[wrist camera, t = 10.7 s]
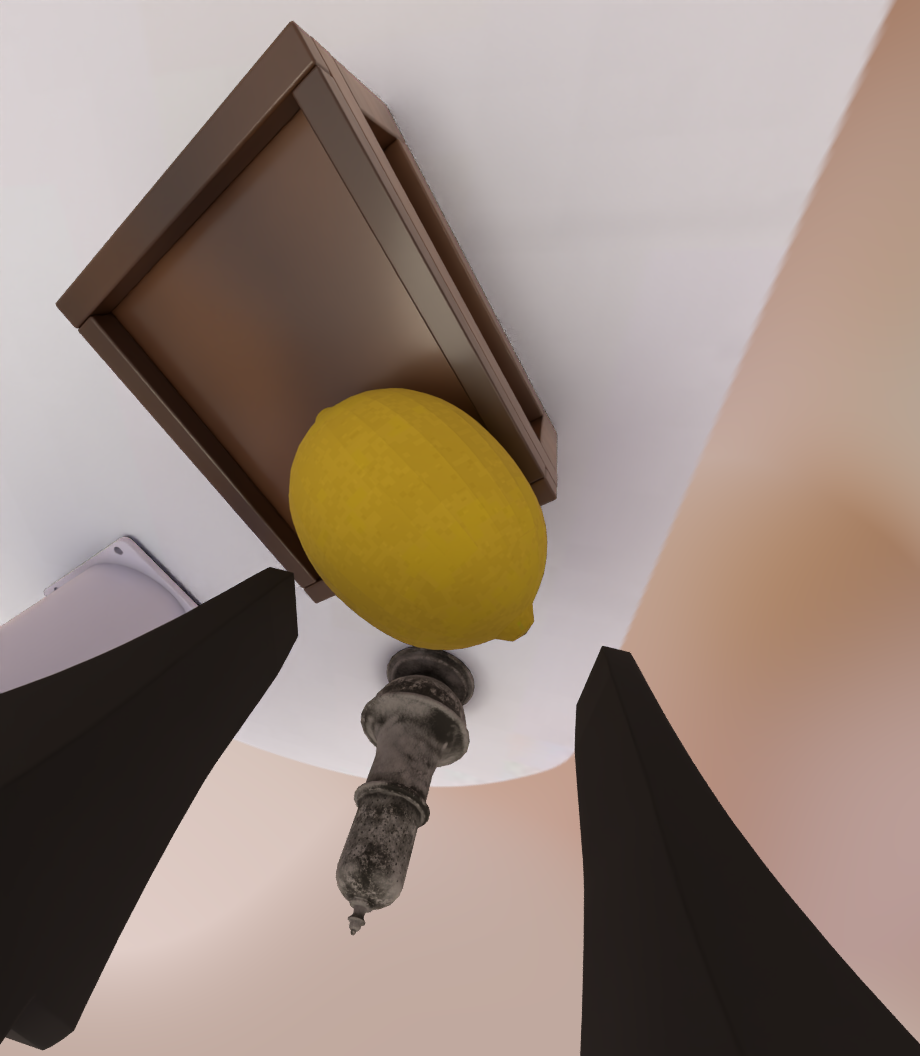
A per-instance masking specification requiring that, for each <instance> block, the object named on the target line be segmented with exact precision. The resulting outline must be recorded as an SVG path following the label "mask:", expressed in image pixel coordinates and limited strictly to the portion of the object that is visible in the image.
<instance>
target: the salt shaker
mask: <svg viewBox="0 0 920 1056" xmlns="http://www.w3.org/2000/svg"><path fill="white" fill-rule="evenodd" d="M387 677H388V681H389V684H387V685H386V686H385V687H384V688H383V689H382V690H381V691H380V692H378V693H377V695H376V697H374V698H373V699H372V700H371V701H369V702H368V703H367V704H366V706H365V707H364V709H363V711H362V713H361V724H362V727H363V731H364V733H365V734H366V736H367V737H368V739H369V740H370V742H371V743H372V744H373V745H374V746H376V747H377V748H376V756H375V759H374V762H373V764H372V767H371V770H370V772H369V775H368V778H367V781H366V783H364V784H362V785H361V786H359V787H358V788H357V790H356V791H355V795H354V800H355V803H356V806H357V807H358V810H357V813H356V816H355V818H354V821H353V824H352V827H351V829H350V832H349V835H348V838H347V840H346V843H345V846H344V849H343V852H342V854H341V857H340V859H339V862H338V866H337V871H336V880H337V884H338V888H339V890H340V891H341V893H342V894H343V896H344V897H345V898H346V899H347V900H348V901H349V902H350V905H351V907H353V908H354V913H353V914H352V915H351V916H350V917H348V920H349V922H350V925H349V928H350V929H351V935H354V934H355V933H356V932H357V931H359V930H360V928H361V926H363V925H365V921H364V915H365V913H366V912H371V911H372V910H376V909H381V908H383V907H386V906H389V905H391V904H392V903H393V902H394V901H395V900H396V899H397V898H398V897H399V895H400V893H401V891H402V889H403V885H404V881H405V877H406V873H407V869H408V865H409V861H410V857H411V853H412V849H413V845H414V840H415V836H416V833H417V829H418V828H419V827H421V826H423V825H424V824H425V823H426V822H427V821H428V819H429V815H430V811H429V807H428V805H427V804H426V799H427V795H428V791H429V787H430V783H431V779H432V775H433V773H434V771H435V769H436V767H441V766H445V765H449V764H452V763H454V762H455V761H457V760H459V759H461V758H462V756H463V755H464V754H465V753H466V752H467V749H468V745H469V742H470V741H469V733H468V730H467V728H466V720H465V715H464V710H463V705H464V704H466V703H467V702H468V701H469V700H470V698H471V697H472V694H473V691H474V680H473V677H472V675H471V673H470V671H469V669H468V668H467V667H466V666H465V665H464V664H463V662H461V661H460V660H458V659H457V658H456V657H454V656H453V655H451V654H449V653H447V652H445V651H442V650H432V649H426V648H419V647H411V648H406V649H404V650H402V651H399V652H398V653H397V654H395V655H394V656H393V657H392V658H391V660H390V662H389V664H388V666H387Z"/></svg>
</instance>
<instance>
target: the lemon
mask: <svg viewBox="0 0 920 1056" xmlns="http://www.w3.org/2000/svg"><path fill="white" fill-rule="evenodd" d="M289 505H290V512H291V516H292V520H293V523H294V526H295V529H296V532H297V534H298V537H299V540H300V542H301V545H302V547H303V549H304V551H305V553H306V555H307V557H308V559H309V561H310V562H311V564H312V565H313V567H314V568H315V570H316V572H317V573H318V574H319V576H320V577H321V578H322V580H323V581H324V582H325V584H326V585H327V586H328V587H329V588H330V589H331V590H332V591H333V592H334V594H335V595H336V596H337V597H338V598H339V599H341V600H342V601H343V602H344V603H345V604H346V605H347V606H348V607H349V608H350V609H352V610H353V611H354V612H355V613H356V614H358V615H359V616H360V617H362V618H363V619H364V620H366V621H367V622H368V623H370V624H371V625H373V626H374V627H376V628H377V629H379V630H380V631H382V632H383V633H385V634H387V635H389V636H391V637H393V638H395V639H397V640H399V641H401V642H403V643H406V644H409V645H412V646H416V647H419V648H426V649H432V650H454V649H463V648H468V647H471V646H475V645H479V644H482V643H485V642H487V641H490V640H493V639H500V640H506V641H512V642H513V641H515V640H516V639H518V638H520V637H521V636H523V635H525V634H526V633H527V631H528V630H529V628H530V627H531V625H532V624H533V622H534V615H533V605H532V603H533V601H534V599H535V596H536V594H537V592H538V589H539V586H540V583H541V580H542V577H543V574H544V569H545V564H546V557H547V534H546V525H545V521H544V517H543V513H542V510H541V507H540V505H539V502H538V500H537V498H536V496H535V494H534V492H533V490H532V488H531V486H530V484H529V483H528V481H527V480H526V478H525V476H524V475H523V473H522V472H521V470H520V469H519V467H518V466H517V464H516V463H515V462H514V460H513V459H512V458H511V456H510V455H509V454H508V453H507V451H506V450H505V449H504V448H503V447H502V446H501V445H500V444H499V442H498V441H497V440H496V439H495V438H494V437H493V436H492V435H491V434H490V433H489V432H488V431H487V430H486V429H485V428H484V427H482V426H481V425H480V424H479V423H478V422H477V421H476V420H474V419H473V418H472V417H470V416H469V415H468V414H466V413H465V412H464V411H462V410H461V409H459V408H457V407H456V406H454V405H453V404H451V403H449V402H447V401H445V400H443V399H441V398H438V397H435V396H432V395H429V394H426V393H422V392H418V391H414V390H409V389H403V388H386V389H376V390H370V391H365V392H362V393H360V394H357V395H354V396H351V397H349V398H347V399H345V400H344V401H342V402H340V403H338V404H336V405H335V406H333V407H328V408H325V409H323V410H322V411H321V412H320V413H319V414H318V415H317V417H316V420H315V423H314V424H313V425H312V427H311V428H310V429H309V431H308V432H307V434H306V435H305V437H304V438H303V440H302V442H301V443H300V445H299V447H298V450H297V452H296V455H295V458H294V461H293V464H292V467H291V473H290V485H289Z"/></svg>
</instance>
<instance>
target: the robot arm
mask: <svg viewBox="0 0 920 1056" xmlns="http://www.w3.org/2000/svg"><path fill="white" fill-rule="evenodd" d="M44 595H45V596H46V597H44V598H43V599H41V600H40V601H38V602H37V603H35V604H34V605H32V606H31V607H29V608H28V609H26V610H25V611H23V612H22V613H20V614H19V615H17V616H15V617H14V618H12V619H11V620H9V621H8V622H6V623H5V624H3V625H2V626H0V1044H1V1042H2V1041H3V1040H4V1038H5V1037H6V1038H9V1039H12V1040H15V1041H18V1042H21V1043H23V1044H26V1045H29V1046H32V1047H35V1048H38V1049H41V1050H45V1049H47V1048H49V1047H51V1046H53V1045H55V1044H56V1043H58V1042H59V1041H61V1040H62V1039H64V1038H65V1037H66V1036H68V1035H69V1034H70V1033H72V1032H73V1031H74V1029H75V1027H76V1025H77V1023H78V1021H79V1019H80V1017H81V1014H82V1012H83V1010H84V1008H85V1006H86V1004H87V1002H88V1000H89V998H90V996H91V994H92V992H93V989H94V988H95V986H96V983H97V981H98V979H99V977H100V975H101V973H102V971H103V969H104V967H105V965H106V963H107V961H108V959H109V957H110V955H111V953H112V951H113V949H114V946H115V944H116V943H117V940H118V938H119V936H120V935H121V932H122V931H123V929H124V927H125V925H126V923H127V921H128V919H129V917H130V915H131V913H132V911H133V909H134V907H135V905H136V904H137V902H138V900H139V898H140V896H141V894H142V892H143V890H144V888H145V886H146V884H147V883H148V881H149V879H150V877H151V875H152V873H153V871H154V869H155V868H156V866H157V864H158V862H159V860H160V858H161V857H162V855H163V853H164V851H165V849H166V848H167V846H168V844H169V842H170V840H171V838H172V837H173V834H174V833H175V831H176V829H177V828H178V826H179V824H180V822H181V820H182V819H183V817H184V815H185V814H186V812H187V810H188V808H189V807H190V805H191V803H192V801H193V800H194V798H195V796H196V794H197V793H198V791H199V789H200V788H201V786H202V784H203V782H204V781H205V779H206V778H207V776H208V775H209V773H210V771H211V770H212V768H213V767H214V765H215V764H216V762H217V761H218V759H219V758H220V756H221V755H222V753H223V752H224V751H225V749H226V748H227V746H228V745H229V744H230V742H231V741H232V739H233V738H234V736H235V735H236V734H237V732H238V731H239V729H240V728H241V727H242V725H243V724H244V722H245V721H246V719H247V718H248V717H249V715H250V714H251V712H252V711H253V709H254V708H255V707H256V705H257V704H258V702H259V701H260V699H261V698H262V697H263V695H264V694H265V692H266V691H267V689H268V688H269V686H270V685H271V684H272V682H273V681H274V679H275V678H276V676H277V675H278V673H279V671H280V669H281V667H282V666H283V664H284V662H285V660H286V658H287V657H288V655H289V653H290V651H291V649H292V647H293V645H294V643H295V641H296V639H297V637H298V627H297V612H296V597H295V582H294V573H292V572H288V571H284V570H280V569H275V568H271V567H269V568H267V569H265V570H263V571H261V572H259V573H257V574H255V575H254V576H252V577H250V578H248V579H246V580H245V581H243V582H241V583H239V584H237V585H236V586H234V587H232V588H230V589H229V590H227V591H225V592H223V593H221V594H220V595H218V596H216V597H214V598H212V599H211V600H209V601H207V602H205V603H203V604H201V605H199V606H198V605H197V604H196V603H195V602H194V601H193V600H192V599H191V598H190V597H189V596H188V595H187V594H186V593H185V592H184V591H183V590H182V589H181V588H180V587H179V586H178V585H177V584H176V583H175V582H174V581H173V580H172V579H171V578H170V577H169V576H168V575H167V574H166V573H165V572H164V571H163V570H162V569H161V568H160V567H159V566H158V565H157V564H156V563H155V562H154V561H153V560H152V559H151V558H150V557H149V556H148V555H147V554H146V553H145V552H144V551H143V550H142V549H141V548H140V547H139V546H138V545H137V544H136V543H135V542H134V541H133V540H131V539H130V538H128V537H121V538H120V539H118V540H116V541H115V542H113V543H112V544H111V545H109V546H108V547H106V548H105V549H103V550H102V551H100V552H99V553H97V554H96V555H94V556H93V557H92V558H90V559H89V560H87V561H86V562H84V563H83V564H81V565H80V566H78V567H77V568H76V569H74V570H73V571H71V572H70V573H68V574H67V575H65V576H64V577H62V578H61V579H59V580H58V581H57V582H55V583H54V584H52V585H51V586H49V587H48V588H46V589H45V590H44ZM575 762H576V776H577V790H578V802H579V815H580V829H581V842H582V854H583V871H584V951H583V995H582V1025H581V1051H580V1056H920V1044H919V1043H918V1041H917V1040H916V1039H915V1038H914V1037H913V1036H912V1035H911V1034H910V1033H909V1032H908V1031H907V1030H906V1029H905V1028H904V1026H903V1025H902V1024H901V1023H900V1022H899V1021H898V1020H897V1019H896V1018H895V1016H894V1015H892V1013H891V1012H890V1011H889V1010H888V1009H887V1008H886V1007H885V1005H884V1004H883V1003H882V1002H881V1001H880V1000H879V999H878V998H877V997H876V996H875V995H874V993H873V992H872V991H871V990H870V989H869V988H868V987H867V986H866V985H865V983H864V982H862V980H861V979H860V978H859V977H858V976H857V975H856V973H855V972H854V971H853V970H852V969H851V968H850V967H849V965H848V964H847V963H846V962H845V961H844V960H843V959H842V957H840V955H839V954H838V953H837V952H836V951H835V949H834V948H833V947H832V946H831V945H830V944H829V942H828V941H827V940H826V939H825V938H824V936H823V935H822V934H821V933H820V932H819V930H818V929H817V928H816V927H815V926H814V924H813V923H812V922H811V921H810V920H809V918H808V917H807V916H806V915H805V914H804V912H803V911H802V910H801V909H800V908H799V906H798V905H797V904H796V903H795V902H794V900H793V899H792V898H791V897H790V896H789V894H788V893H787V892H786V891H785V889H784V888H783V887H782V886H781V885H780V883H779V882H778V881H777V879H776V878H775V877H774V876H773V874H772V873H771V872H770V871H769V869H768V868H767V867H766V865H765V864H764V863H763V862H762V860H761V859H760V857H759V856H758V855H757V853H756V852H755V851H754V849H753V848H752V847H751V846H750V844H749V843H748V841H747V840H746V839H745V837H744V836H743V835H742V833H741V832H740V831H739V829H738V828H737V827H736V826H735V824H734V823H733V821H732V820H731V818H730V817H729V816H728V814H727V813H726V811H725V810H724V808H723V807H722V805H721V804H720V802H718V800H717V798H716V796H715V795H714V793H713V792H712V790H711V789H710V788H709V786H708V784H707V783H706V781H705V780H704V779H703V777H702V775H701V774H700V772H699V771H698V769H697V767H696V766H695V764H694V763H693V761H692V759H691V758H690V756H689V755H688V753H687V751H686V750H685V748H684V746H683V745H682V743H681V741H680V740H679V738H678V737H677V735H676V733H675V731H674V730H673V728H672V726H671V725H670V723H669V721H668V719H667V718H666V716H665V714H664V713H663V711H662V709H661V707H660V706H659V704H658V702H657V700H656V698H655V696H654V695H653V693H652V691H651V689H650V687H649V686H648V684H647V682H646V680H645V678H644V676H643V675H642V673H641V671H640V669H639V667H638V666H637V664H636V662H635V660H634V658H633V656H632V655H631V653H630V652H626V651H622V650H618V649H614V648H609V647H605V646H602V647H601V650H600V652H599V654H598V657H597V659H596V661H595V664H594V666H593V668H592V671H591V673H590V675H589V677H588V680H587V682H586V684H585V687H584V689H583V691H582V694H581V696H580V698H579V700H578V703H577V705H576V726H575Z"/></svg>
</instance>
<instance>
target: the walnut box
mask: <svg viewBox="0 0 920 1056" xmlns="http://www.w3.org/2000/svg"><path fill="white" fill-rule="evenodd" d="M56 306H57V308H58V309H59V310H60V311H61V312H62V313H63V314H64V316H65V317H66V318H67V319H68V320H69V321H70V322H71V324H72V325H73V326H74V327H75V328H79V329H78V331H79V333H80V334H81V335H82V336H83V337H84V338H85V340H86V341H87V342H88V343H89V344H90V345H91V346H92V348H93V349H94V350H95V351H96V352H97V353H98V354H99V356H100V357H101V358H102V359H103V360H104V361H105V362H106V364H107V365H108V366H109V367H110V368H111V369H112V371H113V372H114V373H115V374H116V375H117V376H118V377H119V379H120V380H121V381H122V382H123V383H124V384H125V385H126V387H127V388H128V389H129V390H130V391H131V392H132V393H133V395H134V396H135V397H136V398H137V399H138V400H139V402H140V403H141V404H142V405H143V406H144V407H145V408H146V410H147V411H148V412H149V413H150V414H151V415H152V416H153V418H154V419H155V420H156V421H157V422H158V423H159V424H160V426H161V427H162V428H163V429H164V430H165V431H166V433H167V434H168V435H169V436H170V437H171V438H172V439H173V441H174V442H175V443H176V444H177V445H178V446H179V447H180V449H181V450H182V451H183V452H184V453H185V454H186V455H187V457H188V458H189V459H190V460H191V461H192V462H193V464H194V465H195V466H196V467H197V468H198V469H199V470H200V472H201V473H202V474H203V475H204V476H205V477H206V478H207V480H208V481H209V482H210V483H211V484H212V485H213V486H214V488H215V489H216V490H217V491H218V492H219V493H220V495H221V496H222V497H223V498H224V499H225V500H226V501H227V503H228V504H229V505H230V506H231V507H232V508H233V509H234V511H235V512H236V513H237V514H238V515H239V516H240V517H241V519H242V520H243V521H244V522H245V523H246V524H247V525H248V527H249V528H250V529H251V530H252V531H253V532H254V534H255V535H256V536H257V537H258V538H259V539H260V540H261V542H262V543H263V544H264V545H265V546H266V547H267V548H268V550H269V551H270V552H271V553H272V554H273V555H274V556H275V558H276V559H277V560H278V561H279V562H280V563H281V565H282V566H283V567H284V568H285V569H286V570H287V571H288V572H292V573H294V579H295V581H296V582H297V583H298V584H299V585H300V586H301V587H302V588H304V587H305V588H304V591H305V592H306V593H307V594H308V595H309V597H310V598H311V599H312V600H313V601H314V602H315V603H319V602H321V601H323V600H326V599H328V598H330V597H332V596H335V594H334V592H333V591H332V590H331V589H330V588H329V587H328V586H327V585H326V584H325V582H324V581H323V580H322V578H321V577H320V576H319V574H318V573H317V572H316V570H315V568H314V567H313V565H312V564H311V562H310V561H309V559H308V557H307V555H306V553H305V551H304V549H303V547H302V545H301V542H300V540H299V537H298V534H297V532H296V529H295V526H294V523H293V520H292V516H291V512H290V505H289V485H290V473H291V467H292V464H293V461H294V458H295V455H296V452H297V450H298V447H299V445H300V443H301V442H302V440H303V438H304V437H305V435H306V434H307V432H308V431H309V429H310V428H311V427H312V425H313V424H314V423H315V420H316V417H317V415H318V414H319V413H320V412H321V411H322V410H323V409H325V408H328V407H333V406H335V405H336V404H338V403H340V402H342V401H344V400H345V399H347V398H349V397H351V396H354V395H357V394H360V393H362V392H365V391H370V390H376V389H386V388H403V389H409V390H414V391H418V392H422V393H426V394H429V395H432V396H435V397H438V398H441V399H443V400H445V401H447V402H449V403H451V404H453V405H454V406H456V407H457V408H459V409H461V410H462V411H464V412H465V413H466V414H468V415H469V416H470V417H472V418H473V419H474V420H476V421H477V422H478V423H479V424H480V425H481V426H482V427H484V428H485V429H486V430H487V431H488V432H489V433H490V434H491V435H492V436H493V437H494V438H495V439H496V440H497V441H498V442H499V444H500V445H501V446H502V447H503V448H504V449H505V450H506V451H507V453H508V454H509V455H510V456H511V458H512V459H513V460H514V462H515V463H516V464H517V466H518V467H519V469H520V470H521V472H522V473H523V475H524V476H525V478H526V480H527V481H528V483H529V484H530V486H531V488H532V490H533V492H534V494H535V496H536V498H537V500H538V502H539V505H540V506H542V505H544V504H546V503H549V502H551V501H553V500H555V499H556V498H557V433H556V431H555V429H554V427H553V425H552V423H551V421H550V419H549V417H548V415H547V413H546V411H545V410H544V408H543V406H542V404H541V402H540V400H539V398H538V396H537V394H536V392H535V390H534V388H533V386H532V384H531V383H530V381H529V379H528V377H527V375H526V373H525V371H524V369H523V367H522V365H521V363H520V361H519V359H518V358H517V356H516V354H515V352H514V350H513V348H512V346H511V344H510V342H509V340H508V338H507V336H506V334H505V333H504V331H503V329H502V327H501V325H500V323H499V321H498V319H497V317H496V315H495V313H494V311H493V309H492V308H491V306H490V304H489V302H488V300H487V298H486V296H485V294H484V292H483V290H482V288H481V286H480V284H479V283H478V281H477V279H476V277H475V275H474V273H473V271H472V269H471V267H470V265H469V263H468V261H467V259H466V258H465V256H464V254H463V252H462V250H461V248H460V246H459V244H458V242H457V240H456V238H455V236H454V234H453V233H452V231H451V229H450V227H449V225H448V223H447V221H446V219H445V217H444V215H443V213H442V211H441V209H440V208H439V206H438V204H437V202H436V200H435V198H434V196H433V194H432V192H431V190H430V188H429V186H428V184H427V183H426V181H425V179H424V177H423V175H422V173H421V171H420V169H419V167H418V165H417V163H416V161H415V159H414V158H413V156H412V154H411V152H410V150H409V148H408V146H407V145H406V144H405V140H404V138H403V137H402V135H401V133H400V131H399V129H398V127H397V125H396V123H395V121H394V119H393V117H392V115H391V113H390V112H389V110H388V108H387V106H386V104H385V103H384V102H383V101H381V100H380V99H379V98H378V97H377V96H376V95H375V94H374V93H373V92H371V91H370V90H369V89H368V88H367V87H366V86H365V85H364V84H363V83H361V82H360V81H359V80H358V79H357V78H356V77H355V76H354V75H353V74H351V73H350V72H349V71H348V70H347V69H346V68H345V67H344V66H343V65H341V64H340V63H339V62H338V61H337V60H336V59H335V58H334V57H333V56H331V54H330V53H329V52H328V51H327V50H326V49H325V48H324V47H322V46H321V45H320V44H319V43H318V42H317V41H316V40H315V39H314V38H312V37H311V36H309V35H308V34H307V33H306V32H305V31H304V30H303V29H302V28H300V27H299V26H298V25H297V24H296V23H295V22H294V21H291V22H289V24H288V25H287V26H286V27H285V28H284V30H283V31H282V32H281V33H280V34H279V36H278V37H277V38H276V39H275V40H274V42H273V43H272V44H271V45H270V46H269V48H268V49H267V50H266V51H265V52H264V54H263V55H262V56H261V57H260V58H259V60H258V61H257V62H256V63H255V64H254V66H253V67H252V68H251V69H250V70H249V72H248V73H247V74H246V75H245V76H244V78H243V79H242V80H241V81H240V82H239V84H238V85H237V86H236V87H235V88H234V90H233V91H232V92H231V93H230V94H229V96H228V97H227V98H226V99H225V100H224V102H223V103H222V104H221V105H220V106H219V108H218V109H217V110H216V111H215V112H214V114H213V115H212V116H211V117H210V118H209V120H208V121H207V122H206V123H205V124H204V126H203V127H202V128H201V129H200V130H199V132H198V133H197V134H196V135H195V137H194V138H193V139H192V140H191V141H190V143H189V144H188V145H187V146H186V147H185V149H184V150H183V151H182V152H181V153H180V155H179V156H178V157H177V158H176V159H175V161H174V162H173V163H172V164H171V165H170V167H169V168H168V169H167V170H166V171H165V173H164V174H163V175H162V176H161V177H160V179H159V180H158V181H157V182H156V183H155V185H154V186H153V187H152V188H151V189H150V191H149V192H148V193H147V194H146V195H145V197H144V198H143V199H142V200H141V201H140V203H139V204H138V205H137V206H136V207H135V209H134V210H133V211H132V212H131V213H130V215H129V216H128V217H127V218H126V219H125V221H124V222H123V223H122V224H121V225H120V227H119V228H118V229H117V230H116V231H115V233H114V234H113V235H112V236H111V237H110V239H109V240H108V241H107V242H106V243H105V245H104V246H103V247H102V248H101V249H100V251H99V252H98V253H97V254H96V256H95V257H94V258H93V259H92V260H91V262H90V263H89V264H88V265H87V266H86V268H85V269H84V270H83V271H82V272H81V274H80V275H79V276H78V277H77V278H76V280H75V281H74V282H73V283H72V284H71V286H70V287H69V288H68V289H67V290H66V292H65V293H64V294H63V295H62V296H61V298H60V299H59V300H58V301H57V302H56Z"/></svg>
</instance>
